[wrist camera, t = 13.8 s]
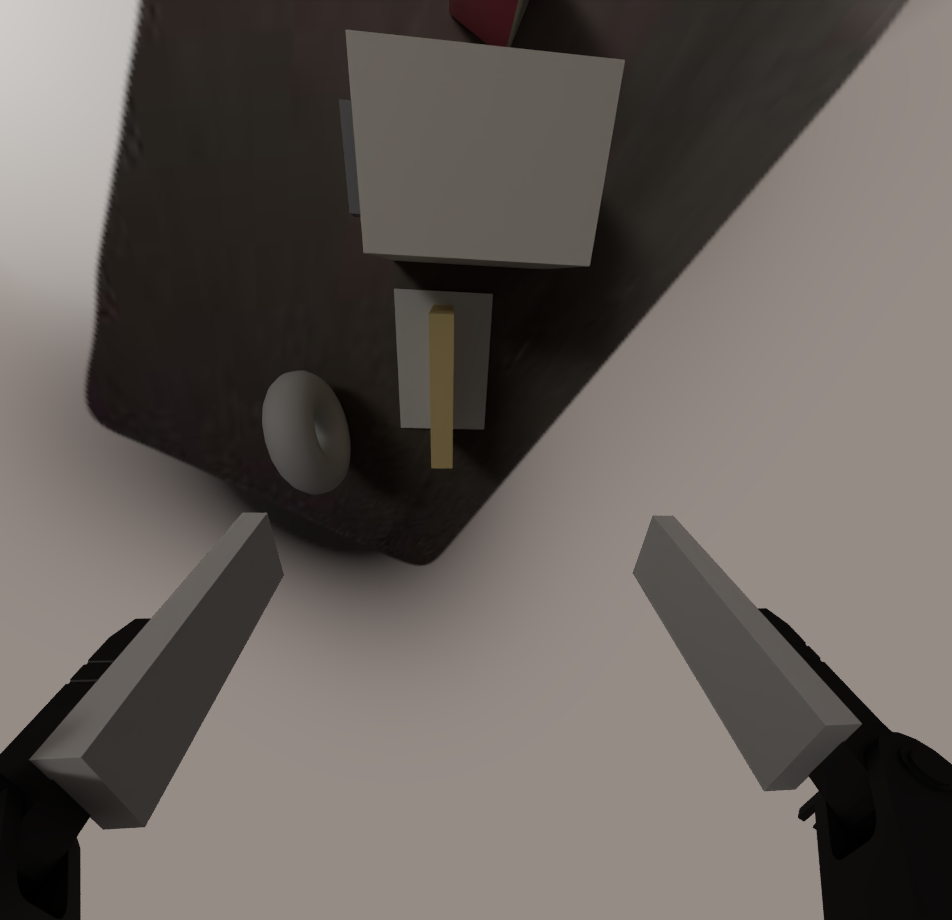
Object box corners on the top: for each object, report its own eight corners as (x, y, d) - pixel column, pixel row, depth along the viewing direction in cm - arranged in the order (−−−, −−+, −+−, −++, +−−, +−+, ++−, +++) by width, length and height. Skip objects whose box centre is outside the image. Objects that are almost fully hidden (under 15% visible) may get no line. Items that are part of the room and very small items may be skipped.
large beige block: (375, 126, 24) (325, 27, 15) (557, 142, 26) (624, 60, 16) (383, 260, 28) (347, 251, 18) (542, 269, 29) (589, 266, 19)
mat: (394, 288, 29) (394, 288, 29) (492, 293, 30) (492, 294, 29) (401, 426, 35) (400, 427, 34) (483, 427, 35) (484, 429, 35)
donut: (291, 362, 31) (228, 396, 22) (330, 355, 31) (283, 387, 22) (330, 461, 36) (291, 523, 27) (364, 456, 36) (336, 515, 27)
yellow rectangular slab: (435, 428, 34) (431, 468, 27) (433, 304, 29) (428, 313, 22) (451, 428, 35) (452, 468, 27) (453, 305, 30) (454, 314, 22)
